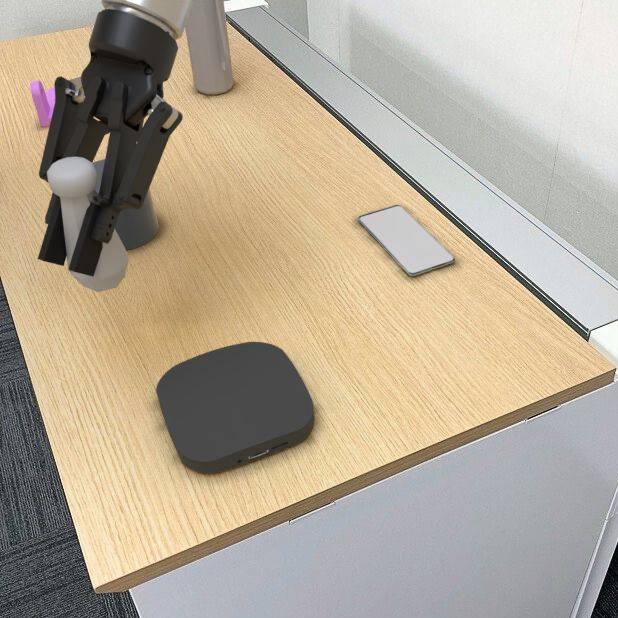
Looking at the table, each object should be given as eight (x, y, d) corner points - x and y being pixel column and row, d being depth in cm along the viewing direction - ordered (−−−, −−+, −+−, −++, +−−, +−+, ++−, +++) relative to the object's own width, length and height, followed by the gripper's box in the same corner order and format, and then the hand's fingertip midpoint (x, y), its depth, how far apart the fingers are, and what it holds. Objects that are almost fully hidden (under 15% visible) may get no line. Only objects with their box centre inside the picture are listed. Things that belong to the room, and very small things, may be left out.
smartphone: (399, 203, 106) (456, 259, 96) (399, 207, 106) (456, 262, 96) (356, 216, 103) (410, 275, 94) (356, 219, 104) (410, 278, 94)
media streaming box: (152, 388, 81) (146, 369, 79) (276, 348, 85) (273, 329, 83) (189, 487, 71) (183, 468, 69) (326, 436, 76) (325, 417, 74)
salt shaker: (104, 304, 72) (68, 188, 63) (61, 286, 74) (20, 171, 65) (144, 271, 75) (115, 157, 66) (102, 255, 77) (68, 142, 68)
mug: (162, 212, 106) (150, 155, 100) (154, 249, 100) (140, 191, 93) (80, 215, 106) (62, 159, 99) (67, 253, 99) (47, 195, 93)
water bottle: (185, 88, 136) (159, -63, 118) (220, 75, 139) (200, -72, 122) (214, 104, 131) (191, -50, 113) (249, 91, 134) (233, -61, 117)
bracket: (75, 123, 126) (63, 84, 121) (41, 126, 125) (28, 87, 121) (80, 90, 135) (70, 53, 130) (49, 93, 135) (37, 55, 130)
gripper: (232, 59, 69) (157, 297, 70) (98, 30, 74) (30, 252, 75) (190, 20, 62) (108, 285, 63) (45, -9, 67) (-29, 237, 68)
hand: (65, 267), depth 69 cm, fingers closed on salt shaker, 3 cm apart
